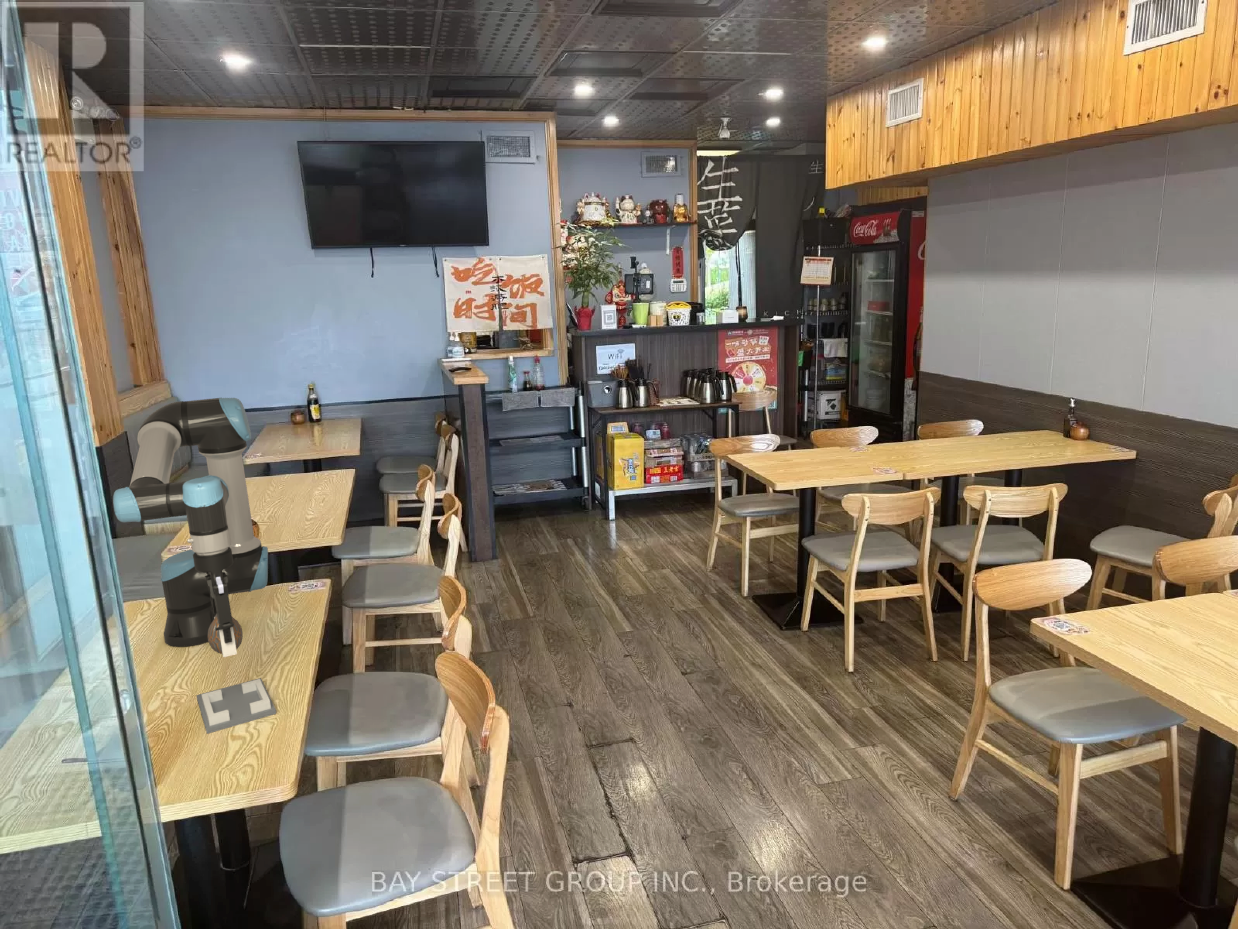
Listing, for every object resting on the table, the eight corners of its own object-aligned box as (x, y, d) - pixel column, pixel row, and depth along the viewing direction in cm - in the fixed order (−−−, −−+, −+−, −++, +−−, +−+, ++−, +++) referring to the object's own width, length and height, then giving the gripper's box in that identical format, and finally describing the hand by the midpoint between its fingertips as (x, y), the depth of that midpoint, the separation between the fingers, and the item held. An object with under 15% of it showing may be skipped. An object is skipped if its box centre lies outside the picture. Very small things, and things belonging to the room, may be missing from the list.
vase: (235, 640, 189) (229, 604, 186) (250, 648, 184) (245, 611, 182) (204, 651, 183) (198, 614, 181) (219, 660, 179) (213, 622, 177)
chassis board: (197, 699, 193) (195, 687, 192) (261, 682, 200) (259, 670, 199) (206, 733, 178) (204, 720, 177) (276, 713, 185) (274, 700, 184)
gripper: (187, 542, 185) (203, 638, 190) (197, 566, 168) (214, 670, 174) (224, 535, 189) (238, 629, 194) (237, 558, 172) (253, 660, 177)
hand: (227, 648), depth 184 cm, fingers closed on vase, 7 cm apart
